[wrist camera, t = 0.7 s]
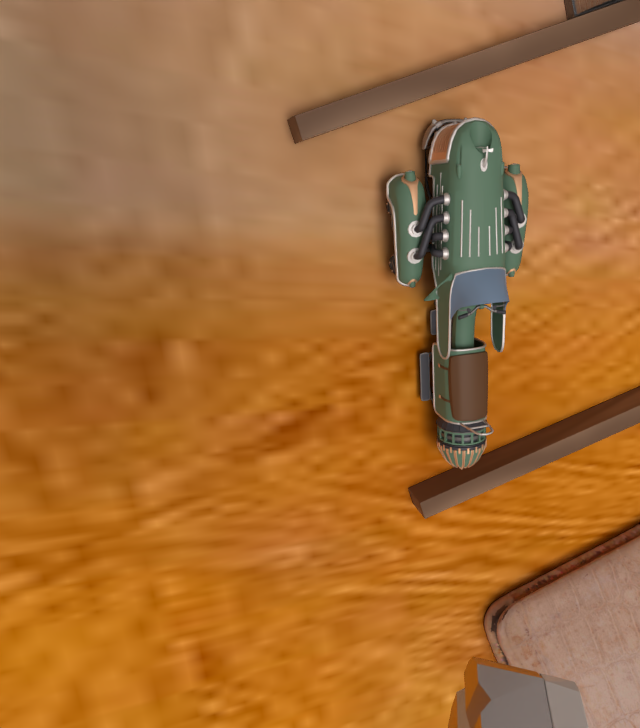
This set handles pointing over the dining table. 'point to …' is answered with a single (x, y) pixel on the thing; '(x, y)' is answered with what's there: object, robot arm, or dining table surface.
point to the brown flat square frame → (346, 111)
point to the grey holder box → (585, 6)
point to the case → (580, 629)
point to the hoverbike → (460, 267)
